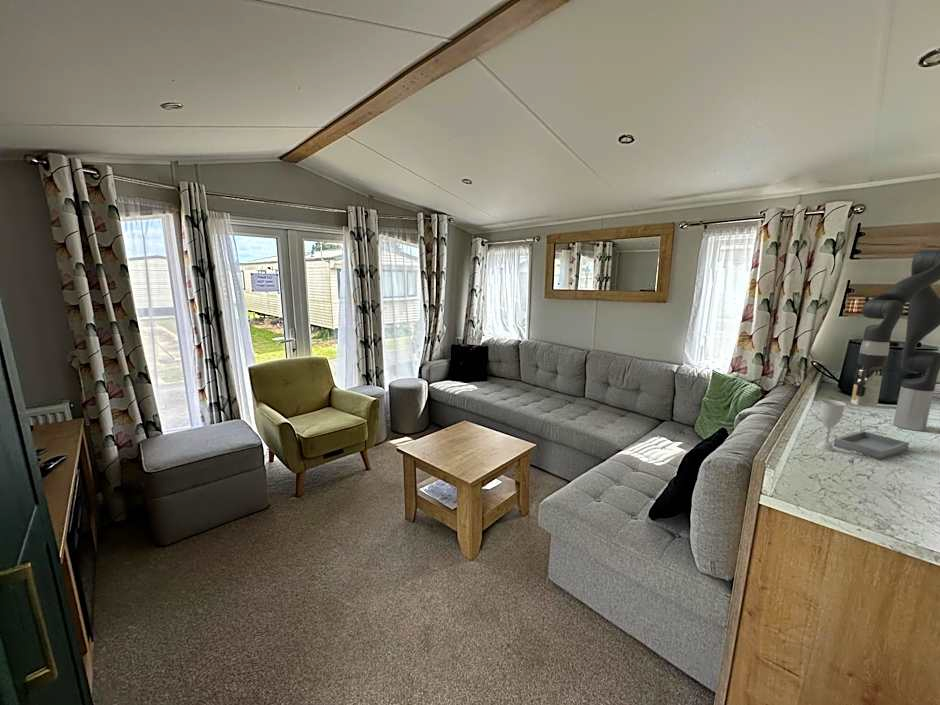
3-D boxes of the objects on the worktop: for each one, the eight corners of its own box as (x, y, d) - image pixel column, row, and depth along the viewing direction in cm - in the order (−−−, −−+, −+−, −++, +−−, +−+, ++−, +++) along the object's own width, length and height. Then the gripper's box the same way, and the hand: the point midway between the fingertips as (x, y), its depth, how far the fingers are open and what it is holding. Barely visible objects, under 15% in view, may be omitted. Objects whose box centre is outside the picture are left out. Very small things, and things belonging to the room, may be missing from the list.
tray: (861, 437, 154) (862, 430, 153) (907, 450, 142) (909, 442, 142) (833, 445, 146) (835, 438, 146) (880, 460, 134) (881, 452, 134)
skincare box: (870, 404, 150) (876, 373, 148) (877, 407, 146) (883, 376, 144) (849, 402, 152) (855, 372, 150) (855, 405, 148) (861, 374, 146)
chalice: (842, 453, 140) (851, 406, 136) (820, 451, 141) (829, 404, 138) (828, 445, 147) (836, 399, 144) (808, 443, 148) (815, 398, 145)
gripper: (870, 350, 152) (862, 390, 155) (850, 352, 146) (842, 394, 149) (897, 353, 145) (888, 395, 148) (876, 355, 140) (868, 399, 142)
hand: (865, 394), depth 149 cm, fingers closed on skincare box, 7 cm apart
